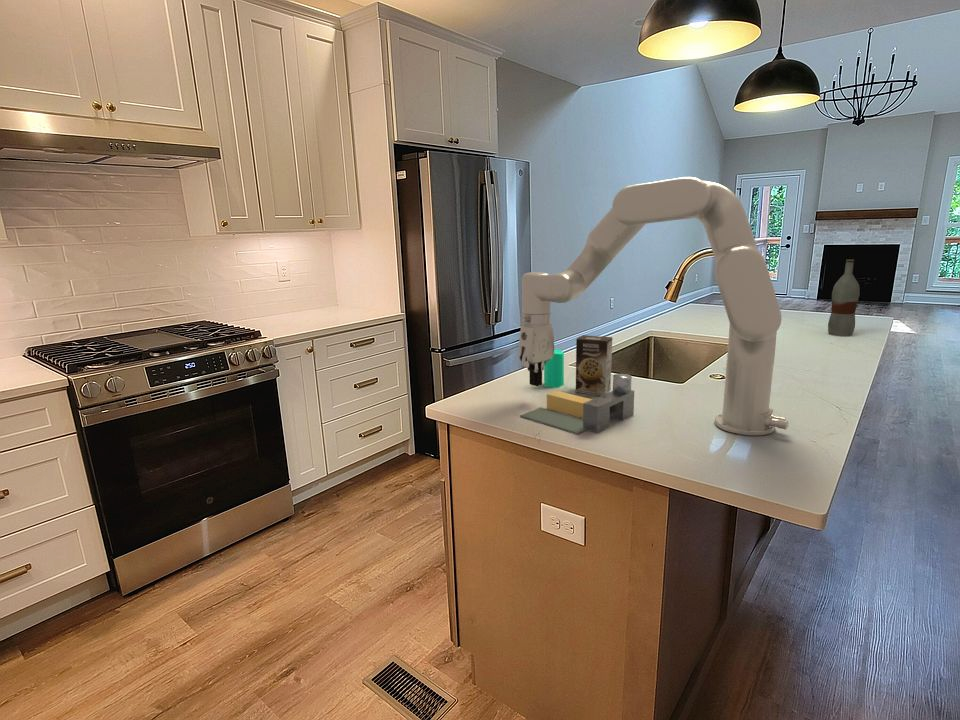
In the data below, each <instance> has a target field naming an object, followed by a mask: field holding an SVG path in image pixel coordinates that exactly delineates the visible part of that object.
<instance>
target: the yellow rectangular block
mask: <svg viewBox="0 0 960 720" xmlns="http://www.w3.org/2000/svg"><path fill="white" fill-rule="evenodd" d="M592 399H593V398H587V397H585V396H579V395H576V394H572V393H571V394H570V393H569V392H568V393H567V392H563V391H559V390H554V391H552V392H549V393H547V394H546V409H548V410H551V409H552V411H555V412H558V411H559V413H562V414H566V415H569V414H570V416H573V417H577V418H580V419H583V403H585V402H588V401H590V400H592Z"/></svg>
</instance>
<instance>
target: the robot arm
mask: <svg viewBox="0 0 960 720" xmlns="http://www.w3.org/2000/svg"><path fill="white" fill-rule="evenodd" d="M611 206H612V207H611V208H610V209H609V211H608V212H607V213H606V214H604V216H603V217H602V219H601V220H599V222H598V223H597V224H596V225H595V226H594V227H593V229H592V230H591V231H590V232H589V234H588V236H587V238H586V243H585V245H584V248H583V249H582V251H581V252H580V254H579V255H578V256H577V257H576V259H575V260H574V261H573V262H572V263H571V264H570V265H569V266H568V267H567V269H565V271H562V272H559V273H552V274H551V273H550V274H549V273H547V272H543V271H531V272H526V273H524V274H523V275H522V277H521V319H520V320H521V326H520V329H519V330H520V332H519V341H518V358H519V361H521V364H520V367H521V368H524V369H525V368H526V369H527V371H529V385H530V386H535V387H540V386H543V372H544V365H545V363H546V362H548V361H549V360H550V359H551V358H553V356H554V350H555V337H554V336H555V335H554V334H555V333H554V328H553V323H551V303H557V304H563V303H564V304H565V303H567V302H569V301H572V300H574V299H577V298H578V297H579V296H581V295H582V294H583V293H584V292H585V291H586V290H587V289H589V287H590V285H591V284H592V283H593V282H594V281H595V280H596V279H598V277H599V276H600V275H601V273H603V272H604V270H605V269H606V268H607V267H608V266H609V265H610V264H611V263H612V262H613V260H614V259H615V258H616V256H617V255H618V254H619V253H620V252H621V251H622V250H623V249H624V248H625V247H626V245H627V244H629V242H630V241H632V239H633V238H634V237H635V236H636V235H637V234H638V233H639V232H640V231H641V230H642V228H643V227H644V226H645V225H646V224H654V223H662V222H663V223H664V222H670V221H671V222H672V221H678V220H692V219H697V220H698V221H699V222H700V223H702V225H703V227H704V229H705V230H704V231H705V232H706V236H707V240H708V242H709V244H710V247H711V250H712V253H713V257H714V262H715V265H714V276H715V281H716V284H717V287H718V290H719V293H720V296H721V300H722V303H723V306H724V309H725V313H726V315H727V319H728V321H729V322H728V323H729V329H728V340H727V341H728V343H727V353H726V366H725V379H724V390H723V404H722V413H719V414H717V415H716V416H715V417H714V423H715V424H714V425H716V427H718V428H719V429H721V430H723V431H726V432H729V433H731V434H732V433H733V434H737V435H744V436H764V435H769V434H771V433H773V432H775V428H777V429H782V430H787V429H788V427H789V421H788V420H787V419H786V418H785V417H781V416H776V415H775V414H773V413H774V409H773V408H770V401H771V394H772V393H771V392H772V384H773V374H774V373H773V372H774V363H775V356H776V354H775V353H776V344H777V334H778V333H777V332H778V330H779V329H780V327H781V323H782V312H781V308H780V305H779V302H778V299H777V296H776V292H775V289H774V285H773V282H772V279H771V275H770V272H769V269H768V266H767V263H766V260H765V258H764V256H763V254H762V252H761V251H760V250H759V247H758V245H757V242H756V240H755V239H756V238H755V236H754V233H753V231H752V227H751V224H750V222H749V218H748V217H747V213H746V211H745V208H744V206H743V204H742V202H741V201H740V199H739V198H738V196H737V195H736V194H735V193H734V192H733V191H731V190H730V189H729V188H727V187H726V186H724V185H722V184H720V183H717V182H712V181H708V180H701V179H700V178H697V177H693V176H683V177H677V178H672V179H664V180H659V181H653V182H652V181H651V182H646V183H636V184H631V185H627V186H625V187H623V188H621V189H620V190H619V191H618V192H617V193H616V194H615V196H614V198H613V201H612V205H611Z"/></svg>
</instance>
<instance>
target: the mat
mask: <svg viewBox="0 0 960 720" xmlns="http://www.w3.org/2000/svg"><path fill="white" fill-rule="evenodd" d="M520 418H523V419H526V420H530V421H533V422H537V423H539V424H543V425H545V426H549V427H553V428H555V429H559V430H562V431H565V432H568V433H572V434H575V435H580V434H581V433H583V432H586V431H588V430H587V429H586V428H583V418H580V417H576V416H573V415H569V414H566V413H562V412H558V411H555V410H551V409H548V408H544V407H538V408H535V409H533V410H530V411H528V412H525V413H522V414H520Z"/></svg>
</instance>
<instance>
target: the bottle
mask: <svg viewBox="0 0 960 720" xmlns="http://www.w3.org/2000/svg"><path fill="white" fill-rule="evenodd" d="M854 262H855V259H846V260H845V267H844V273H843V275H842V276H840V278H838V280H837V281H836V283H835V284H834V285H833V289H832V291H831V313H830V315H829V318H828V323H827V331H828V335H831V336H834V337H851V336H853V334H854V332H855V328H856V311H857V306H858V301H859V297H860V291H861V289H860V284H859V282H858V281H857V279H856V278H855V275H854V274H853V271H854Z"/></svg>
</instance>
